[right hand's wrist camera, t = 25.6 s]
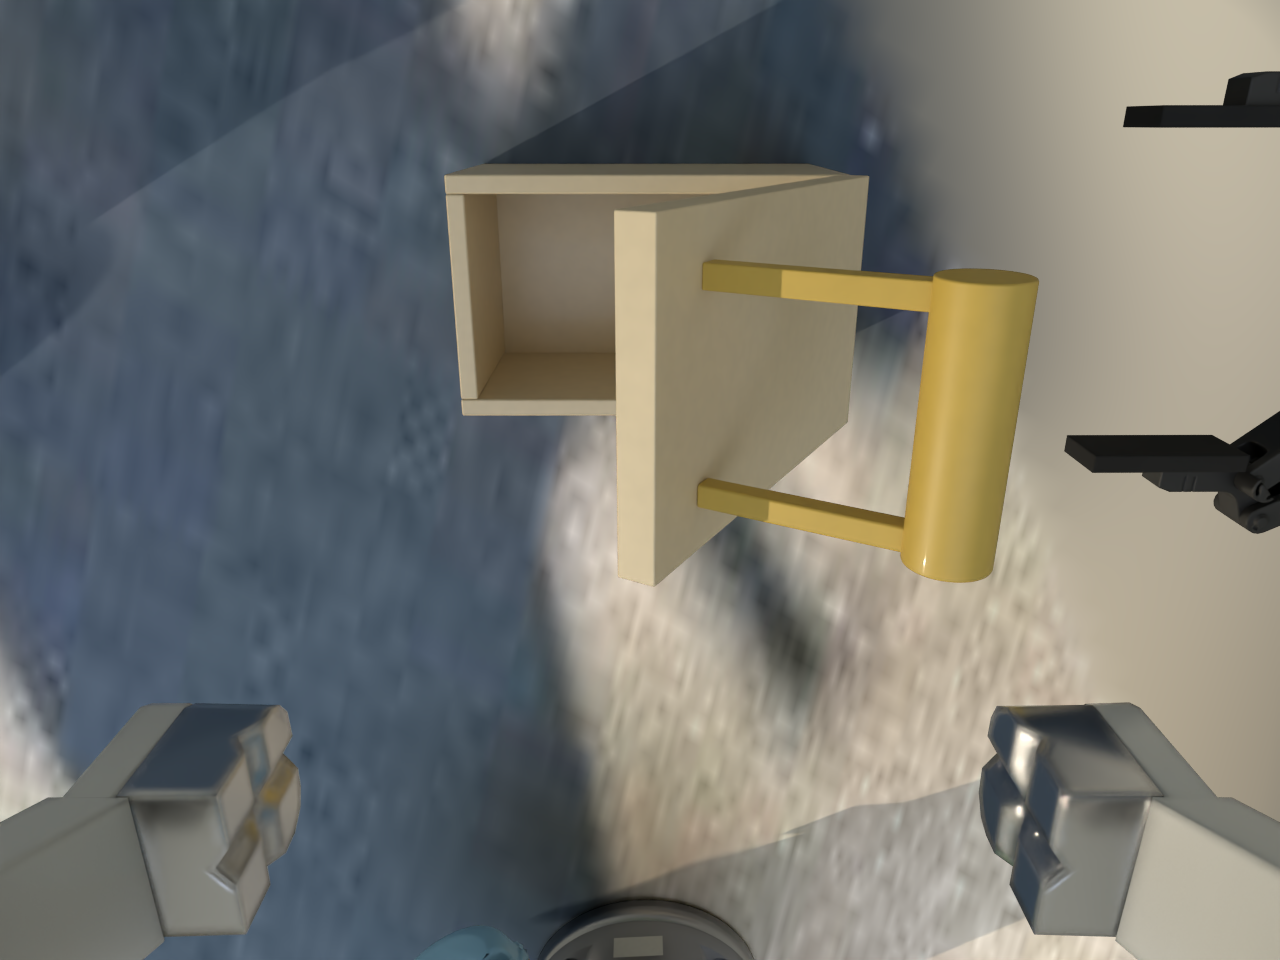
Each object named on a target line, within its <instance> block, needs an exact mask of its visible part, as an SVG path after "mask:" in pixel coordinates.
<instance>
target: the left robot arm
mask: <svg viewBox="0 0 1280 960" xmlns="http://www.w3.org/2000/svg"><path fill="white" fill-rule="evenodd" d="M1123 127H1280V72H1255V73H1243V74H1240V75H1238V76H1235V77H1233V78H1230V79H1229V80H1228V85H1227V89H1226V94H1225V98H1224V103H1223V105H1162V106H1131V107H1127V108H1126V114H1125V119H1124V125H1123ZM1064 451H1065V452H1066V453H1067V454H1069V455H1070V456H1071V457H1073V458H1074V459H1075V460H1077V461H1078V462H1079V463H1081V464H1082V465H1083V466H1084V467H1086V468H1087V469H1088V470H1090V471H1091V472H1092V473H1143V474H1142V476H1143V477H1144V478H1146V479H1147V480H1149V481H1150V482H1152V483H1153V484H1155V485H1156V486H1157V487H1159V488H1161V489H1164V490H1166V491H1169V492H1182V491H1183V492H1191V491H1193V492H1218V494H1217V495H1216V496H1215V499H1214V506H1215V508H1216V509H1217V510H1218V511H1220V512H1221V513H1223V514H1224V515H1226V516H1227V517H1229V518H1230V519H1232V520H1233V521H1235V522H1236V523H1238V524H1239V525H1241V526H1242V527H1244V528H1246V529H1247V530H1249V531H1250V532H1252V533H1257V534H1259V533H1263V532H1266V531H1268V530H1270V529H1273V528H1275V527H1278V526H1280V411H1279V412H1278V413H1276V414H1275V415H1273V416H1272V417H1270V418H1269V419H1267V420H1266V421H1264V422H1263V423H1261V424H1260V425H1258V426H1257V427H1255V428H1254V429H1252V430H1251V431H1249V432H1248V433H1246V434H1245V435H1243V436H1242V437H1240V438H1239V439H1237V440H1236V441H1234V442H1233V443H1231V444H1228V443H1226V442H1224V441H1222V440H1220V439H1218V438H1217V437H1215V436H1213V435H1067V439H1066V445H1065V450H1064ZM415 960H530V959H529V958H528V953H527V950H525V949H523V945H522V944H520V943H518V942H512V941H511V940H510V939H509V938H508V937H507V936H506V935H505V934H503V933H502V932H501V931H499V930H498V929H495V928H493V927H489V926H472V927H467V928H463V929H460V930H458V931H455V932H453V933H451V934H449V935H447V936H445V937H443V938H442V939H440V940H438V941H437V942H435V943H434V944H432V945H431V946H430V947H428V948H427V949H425V950H424V951H423V952H422V953H421V954H420V955H419V956H418V957H417V958H416V959H415ZM538 960H754V959H753V956H752V954H751V952H750V950H749V949H748V947H747V945H746V944H745V943H744V941H743V940H742V939H741V938H740V937H739V935H738V934H737V933H736V932H735V931H734V930H732V929H731V928H730V927H729V926H728V925H726V924H725V923H723V922H722V921H721V920H719V919H717V918H715V917H714V916H712V915H710V914H708V913H706V912H704V911H701V910H699V909H696V908H693V907H690V906H687V905H683V904H679V903H674V902H668V901H659V900H633V901H625V902H619V903H614V904H609V905H606V906H602V907H599V908H596V909H594V910H591V911H589V912H586V913H584V914H582V915H580V916H578V917H577V918H575V919H573V920H572V921H570V922H569V923H567V924H566V925H564V926H563V927H562V928H561V929H560V930H558V931H557V932H556V933H555V934H554V935H553V936H552V937H551V939H550V940H549V941H548V942H547V944H546V945H545V947H544V948H543V950H542V952H541V953H540V956H539V958H538Z"/></svg>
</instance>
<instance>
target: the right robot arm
mask: <svg viewBox="0 0 1280 960" xmlns="http://www.w3.org/2000/svg"><path fill="white" fill-rule="evenodd" d="M291 738H292V732H291V727H290V723H289V718H288V713H287V711H286V710H285V709H283V708H282V707H281V706H280V705H254V704H207V703H195V704H190V703H151V704H148V705H146V706H143V707H140V708H139V709H138V710H137V712H136V713H135V714H134V715H133V716H132V717H131V719H130V720H129V721H128V722H127V723H126V724H125V726H124V727H123V728H122V729H121V730H120V731H119V732H118V734H117V735H116V736H115V737H114V738H113V739H112V741H111V742H110V743H109V744H108V745H107V746H106V748H105V749H104V750H103V751H102V752H101V753H100V755H99V756H98V757H97V758H96V759H95V760H94V761H93V763H92V764H91V765H90V766H89V767H88V768H87V770H86V771H85V772H84V773H83V774H82V775H81V777H80V778H79V779H78V780H77V781H76V782H75V783H74V785H73V786H72V787H71V788H70V789H69V790H68V792H67V793H66V794H65V795H64V796H63V797H59V798H46V799H44V800H42V801H41V802H39V803H37V804H35V805H33V806H31V807H29V808H27V809H25V810H23V811H21V812H19V813H17V814H15V815H13V816H12V817H10V818H8V819H6V820H4V821H2V822H0V960H143V959H144V958H145V957H147V956H148V955H149V954H150V953H151V952H152V951H154V950H155V949H156V948H157V947H158V946H159V945H161V944H162V943H163V942H164V937H172V936H206V935H241V934H246V933H247V931H248V929H249V927H250V925H251V923H252V921H253V919H254V917H255V915H256V913H257V911H258V909H259V907H260V905H261V903H262V900H263V898H264V896H265V894H266V892H267V890H268V888H269V886H270V880H269V874H268V869H267V866H268V865H270V864H271V863H272V862H274V861H275V860H277V859H278V858H279V857H281V856H282V855H283V854H285V853H286V851H287V849H288V847H289V844H290V842H291V840H292V838H293V836H294V834H295V830H296V825H297V821H298V816H299V811H300V803H301V785H300V779H299V772H298V768H297V767H296V766H295V765H294V764H293V763H292V762H291V761H290V760H289V759H288V758H287V757H286V756H285V755H284V754H283V752H284V750H285V748H286V747H287V745H288V743H289V741H290V739H291ZM988 738H989V739H990V741H991V743H992V745H993V747H994V748H995V750H996V752H997V754H996V755H995V756H994V757H993V758H992V759H991V760H990V761H989V762H988V763H987V764H986V765H985V766H984V767H983V768H982V773H981V781H980V788H979V799H980V811H981V819H982V822H983V826H984V829H985V833H986V836H987V838H988V840H989V842H990V845H991V847H992V849H993V851H994V853H995V854H997V855H998V856H999V857H1001V858H1002V859H1003V860H1005V861H1006V862H1008V863H1009V864H1010V865H1012V866H1013V869H1012V874H1011V880H1010V886H1011V888H1012V890H1013V892H1014V894H1015V896H1016V898H1017V900H1018V902H1019V904H1020V907H1021V909H1022V911H1023V913H1024V915H1025V917H1026V919H1027V921H1028V923H1029V925H1030V927H1031V929H1032V931H1033V933H1034V934H1037V935H1072V936H1108V937H1116V940H1115V941H1116V942H1118V943H1119V944H1120V945H1121V946H1122V947H1123V948H1125V949H1126V950H1127V951H1128V952H1129V953H1130V954H1132V955H1133V956H1134V957H1135V958H1136V959H1137V960H1280V822H1278V821H1276V820H1274V819H1272V818H1270V817H1268V816H1266V815H1265V814H1263V813H1261V812H1259V811H1257V810H1255V809H1253V808H1251V807H1249V806H1247V805H1245V804H1243V803H1241V802H1239V801H1237V800H1236V799H1234V798H1220V797H1217V796H1216V795H1215V794H1214V793H1213V792H1212V790H1211V789H1210V788H1209V787H1208V786H1207V785H1206V784H1205V782H1204V781H1203V780H1202V779H1201V778H1200V777H1199V775H1198V774H1197V773H1196V772H1195V771H1194V770H1193V769H1192V767H1191V766H1190V765H1189V764H1188V763H1187V762H1186V760H1185V759H1184V758H1183V757H1182V756H1181V755H1180V753H1179V752H1178V751H1177V750H1176V749H1175V748H1174V746H1173V745H1172V744H1171V743H1170V742H1169V741H1168V740H1167V738H1166V737H1165V736H1164V735H1163V734H1162V733H1161V731H1160V730H1159V729H1158V728H1157V727H1156V726H1155V724H1154V723H1153V722H1152V721H1151V720H1150V719H1149V717H1148V716H1147V715H1146V714H1145V713H1144V712H1143V711H1142V709H1141V708H1139V707H1137V706H1135V705H1133V704H1131V703H1098V704H1085V705H1048V706H997V707H996V709H995V711H994V713H993V715H992V717H991V721H990V726H989V731H988Z"/></svg>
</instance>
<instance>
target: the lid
mask: <svg viewBox="0 0 1280 960" xmlns="http://www.w3.org/2000/svg"><path fill="white" fill-rule="evenodd" d="M868 184H869V176H859V175H837V176H830V177H824V178H817V179H810V180H804V181H797V182H791V183H784V184H778V185H771V186H765V187H758V188H752V189H745V190H739V191H732V192H725V193H719V194H712V195H706V196H699V197H693V198H686V199H680V200H673V201H667V202H660V203H653V204H647V205H640V206H634V207H627V208H621V209H616V210H614V253H615V347H616V441H617V536H618V577H620V578H623V579H627V580H631V581H634V582H638V583H642V584H645V585H649V586H653V587H654V586H656V585H657V584H658V583H659V582H661V581H662V580H663V579H664V578H665V577H667V576H668V575H669V574H670V573H671V572H672V571H674V570H675V569H676V568H677V567H678V566H679V565H681V564H682V563H683V562H684V561H685V560H686V559H688V558H689V557H690V556H691V555H692V554H694V553H695V552H696V551H697V550H698V549H699V548H701V547H702V546H703V545H704V544H705V543H706V542H708V541H709V540H710V539H711V538H712V537H713V536H715V535H716V534H717V533H718V532H719V531H720V530H722V529H723V528H724V527H725V526H726V525H728V524H729V523H730V522H731V521H732V520H733V519H735V518H736V517H737V516H740V517H745V518H749V519H754V520H758V521H763V522H767V523H772V524H776V525H781V526H785V527H790V528H794V529H799V530H803V531H808V532H813V533H817V534H822V535H826V536H831V537H835V538H840V539H844V540H849V541H853V542H858V543H862V544H867V545H871V546H876V547H880V548H885V549H889V550H894V551H898V552H901V555H900V556H901V560H902V562H903V563H904V565H905V566H906V567H907V568H909V569H910V570H912V571H913V572H915V573H917V574H919V575H922V576H924V577H928V578H931V579H935V580H939V581H945V582H957V583H963V582H973V581H978V580H981V579H984V578H986V577H987V576H988V575H990V573H991V572H992V570H993V565H994V559H995V553H996V547H997V540H998V534H999V528H1000V522H1001V516H1002V509H1003V503H1004V497H1005V491H1006V484H1007V478H1008V472H1009V466H1010V459H1011V453H1012V447H1013V441H1014V435H1015V428H1016V422H1017V416H1018V410H1019V403H1020V397H1021V391H1022V385H1023V378H1024V372H1025V366H1026V360H1027V354H1028V347H1029V341H1030V335H1031V329H1032V322H1033V316H1034V310H1035V304H1036V297H1037V291H1038V285H1039V280H1038V278H1036V277H1034V276H1032V275H1029V274H1025V273H1020V272H1013V271H1005V270H994V269H950V270H943V271H939V272H936V273H935V274H934V276H920V275H907V274H895V273H882V272H869V271H861V263H862V252H863V240H864V229H865V218H866V206H867V195H868ZM858 305H860V306H870V307H881V308H891V309H901V310H912V311H922V312H929V316H928V325H927V333H926V342H925V350H924V359H923V367H922V376H921V384H920V393H919V401H918V410H917V418H916V427H915V435H914V444H913V452H912V461H911V469H910V478H909V486H908V495H907V503H906V512H905V518H904V517H899V516H894V515H889V514H884V513H879V512H874V511H869V510H864V509H859V508H854V507H849V506H844V505H840V504H835V503H830V502H825V501H820V500H815V499H810V498H805V497H800V496H795V495H790V494H785V493H780V492H776V491H771V490H769V489H770V488H771V487H772V486H773V485H774V484H776V483H777V482H778V481H779V480H780V479H782V478H783V477H784V476H785V475H786V474H787V473H789V472H790V471H791V470H792V469H793V468H794V467H796V466H797V465H798V464H799V463H800V462H801V461H803V460H804V459H805V458H806V457H807V456H809V455H810V454H811V453H812V452H813V451H814V450H816V449H817V448H818V447H819V446H820V445H821V444H823V443H824V442H825V441H826V440H827V439H828V438H830V437H831V436H832V435H833V434H834V433H836V432H837V431H838V430H839V429H840V428H841V427H843V426H844V425H845V424H846V423H847V422H848V410H849V399H850V388H851V376H852V365H853V354H854V342H855V331H856V320H857V308H858Z"/></svg>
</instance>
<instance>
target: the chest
mask: <svg viewBox="0 0 1280 960" xmlns="http://www.w3.org/2000/svg"><path fill="white" fill-rule="evenodd" d="M837 175H849V174H845V173H841V172H838V171H834V170H830V169H826V168H822V167H819V166H815V165H811V164H481V165H478V166H475V167H471V168H467V169H464V170H460V171H457V172H453V173H450V174H446V175H445V176H444V178H445V191H446V193H447V195H446V205H447V218H448V231H449V244H450V257H451V270H452V283H453V297H454V310H455V323H456V336H457V349H458V362H459V375H460V389H461V398H462V401H461V402H462V414H463V415H616V347H615V253H614V210H616V209H621V208H627V207H634V206H640V205H647V204H653V203H660V202H667V201H673V200H680V199H686V198H693V197H699V196H706V195H712V194H719V193H725V192H732V191H739V190H745V189H752V188H758V187H765V186H771V185H778V184H784V183H791V182H797V181H804V180H810V179H817V178H824V177H830V176H837Z"/></svg>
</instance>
